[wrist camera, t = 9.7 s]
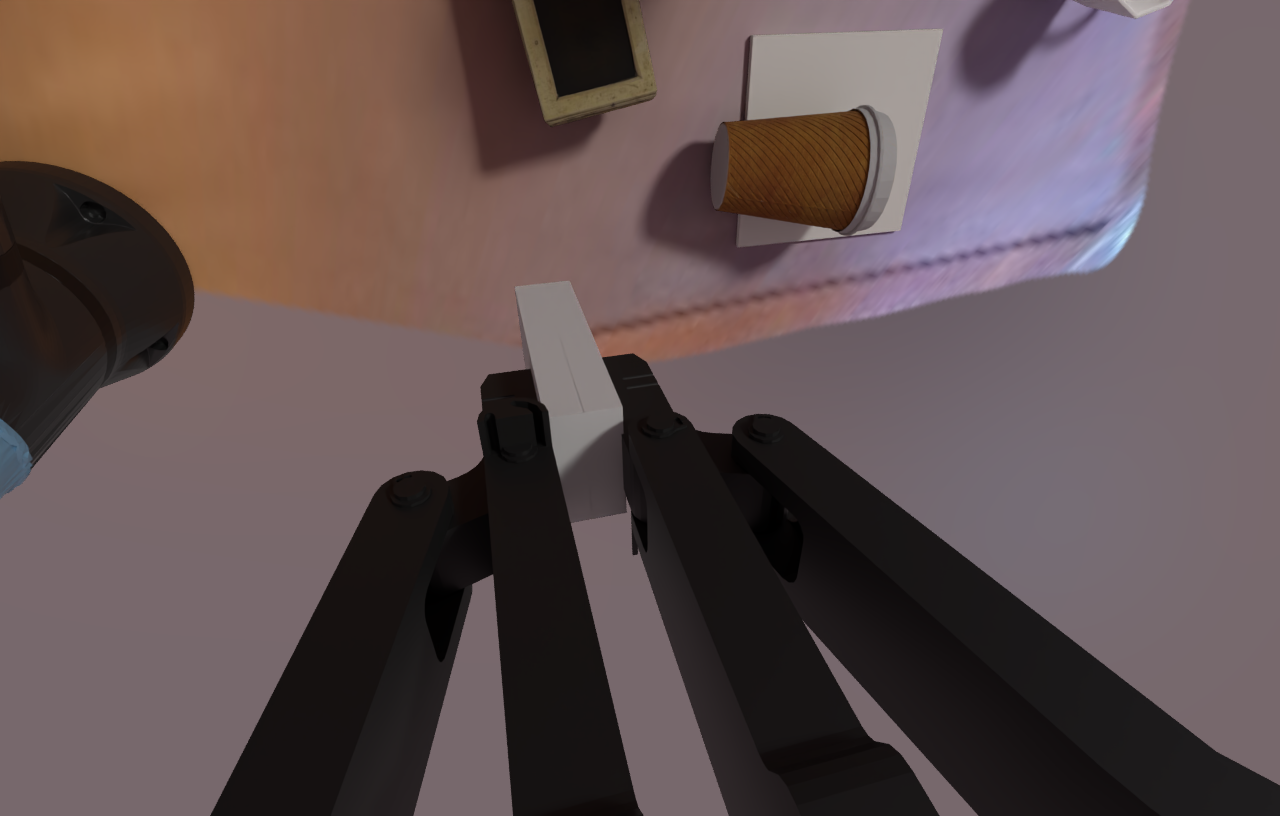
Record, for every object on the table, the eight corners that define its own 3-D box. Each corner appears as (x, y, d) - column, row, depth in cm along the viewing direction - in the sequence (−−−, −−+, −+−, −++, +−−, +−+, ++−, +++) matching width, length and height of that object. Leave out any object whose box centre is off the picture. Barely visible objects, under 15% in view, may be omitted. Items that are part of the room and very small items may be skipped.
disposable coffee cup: (734, 204, 43) (902, 210, 44) (732, 69, 44) (898, 78, 45) (706, 248, 53) (845, 251, 54) (705, 136, 53) (842, 142, 54)
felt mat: (735, 245, 56) (738, 247, 55) (750, 35, 47) (753, 35, 46) (897, 228, 59) (900, 230, 58) (939, 28, 50) (943, 29, 50)
